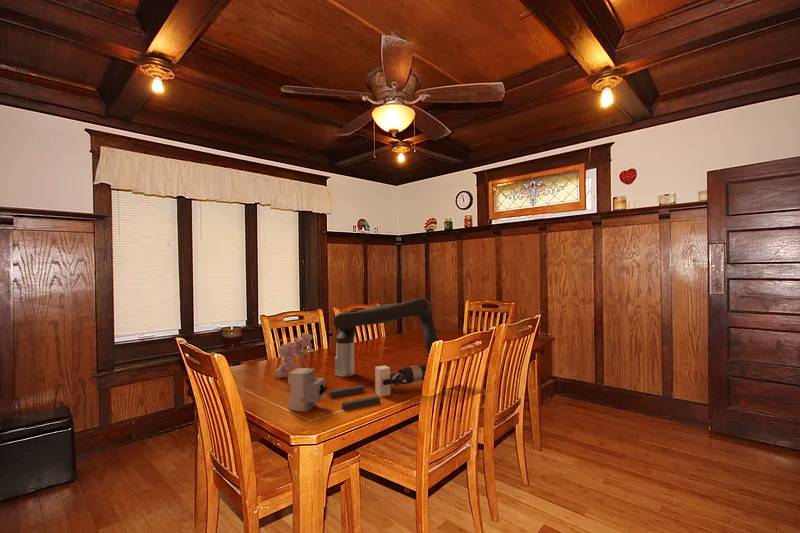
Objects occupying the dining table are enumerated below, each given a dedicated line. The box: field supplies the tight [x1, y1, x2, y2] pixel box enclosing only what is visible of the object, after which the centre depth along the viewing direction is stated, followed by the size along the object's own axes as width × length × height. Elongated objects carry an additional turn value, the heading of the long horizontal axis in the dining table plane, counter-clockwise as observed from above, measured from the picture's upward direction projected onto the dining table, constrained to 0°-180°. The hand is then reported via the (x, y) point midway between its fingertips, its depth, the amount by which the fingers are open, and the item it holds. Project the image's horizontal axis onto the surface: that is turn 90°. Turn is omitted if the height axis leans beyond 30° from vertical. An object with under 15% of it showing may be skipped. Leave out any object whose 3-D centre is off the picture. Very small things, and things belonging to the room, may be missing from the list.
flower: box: [274, 330, 316, 378], centre depth 201 cm, size 20×22×25 cm
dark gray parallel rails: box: [328, 384, 381, 411], centre depth 166 cm, size 16×19×2 cm
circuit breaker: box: [287, 367, 328, 412], centre depth 158 cm, size 8×14×15 cm, turn 78°
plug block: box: [374, 365, 391, 398], centre depth 173 cm, size 5×5×12 cm
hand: (378, 380), depth 172 cm, fingers open, 8 cm apart
